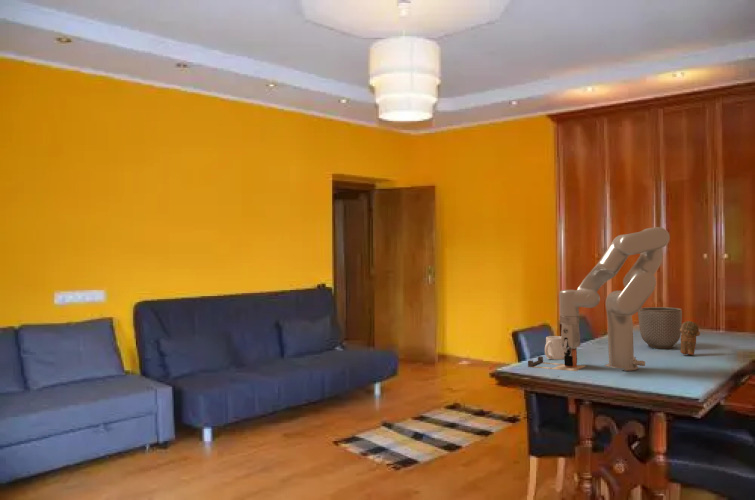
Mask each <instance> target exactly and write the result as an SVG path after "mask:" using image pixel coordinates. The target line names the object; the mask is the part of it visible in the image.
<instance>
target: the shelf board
mask: <svg viewBox="0 0 755 500" xmlns="http://www.w3.org/2000/svg"><path fill="white" fill-rule="evenodd" d="M538 364H545V365H555V367H547V366H546V367H545V366H537V365H538ZM585 367H586V365H579V364H577V367H565V363H558V362H557V363H554V362H544V356H537V360H535V361H534V360H528V361H527V368H535V369H536V368H537V369H548V370H560V371H569V372H570V371H571V372H577V371H579V370H581V369H583V368H585Z"/></svg>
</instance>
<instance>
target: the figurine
mask: <svg viewBox="0 0 755 500" xmlns="http://www.w3.org/2000/svg"><path fill="white" fill-rule="evenodd" d="M680 331H681V335H680V351H679V352H680V353H681V354H683V355H689V356H693V355H695V351H696V344H697V337H698V336H700V335H701V332H700V329H699V326H698V324H697V323H695V322H693V321H691V320H688V321H685V322H682V326H681V328H680Z"/></svg>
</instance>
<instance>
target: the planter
mask: <svg viewBox="0 0 755 500" xmlns="http://www.w3.org/2000/svg"><path fill="white" fill-rule="evenodd" d="M637 318H638V326H639V333H640V336H641V339H642V341H644V342H645V343H646V344H647V346H648V347H649V348H650V349H654V348H655V349H657V350H671V349H673V348H674V345H675V344H677V343H678V342H679V341H680V340H681V335H682V333H681V331H680V328H681V326H682V324H683V322H682V321H683V309H682V308H678V307H666V306H665V307H664V306H662V307H661V306H655V307H654V306H651V307H649V306H648V307H647V306H646V307H641V308H640V309H639V310H638V311H637ZM655 349H654V350H655Z"/></svg>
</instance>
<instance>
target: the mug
mask: <svg viewBox="0 0 755 500" xmlns="http://www.w3.org/2000/svg"><path fill="white" fill-rule="evenodd" d="M544 355H545V356H546V359H549V360H564V351H563V347H562V344H561V336H560V335H559V336H558V335H549V336H546V337H545V344H544Z"/></svg>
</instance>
